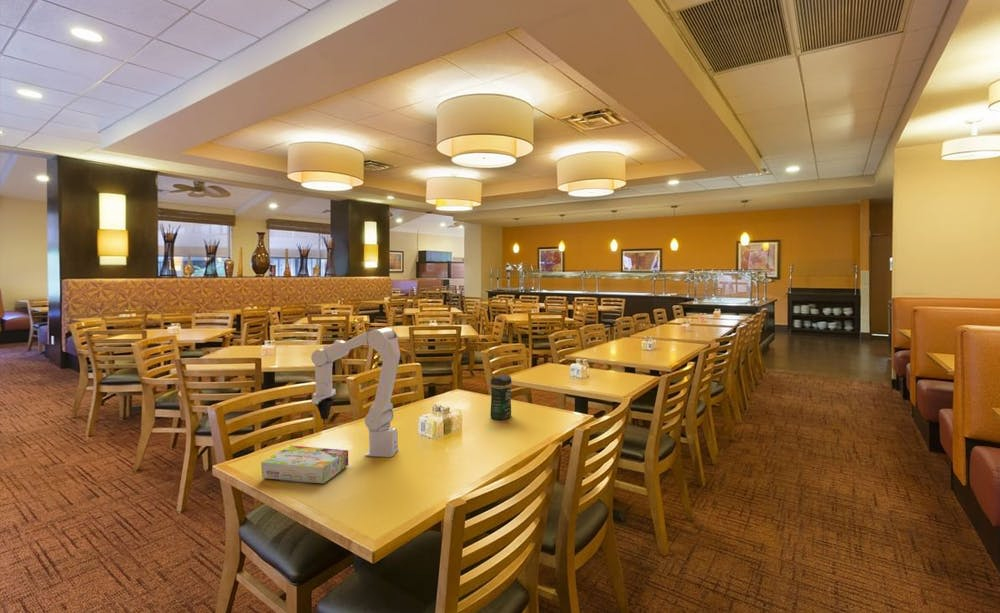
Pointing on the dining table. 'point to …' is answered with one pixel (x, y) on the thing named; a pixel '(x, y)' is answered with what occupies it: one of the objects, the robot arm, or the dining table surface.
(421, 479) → the dining table surface
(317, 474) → the snack box
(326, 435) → the dining table surface
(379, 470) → the dining table surface
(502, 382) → the coffee jar
